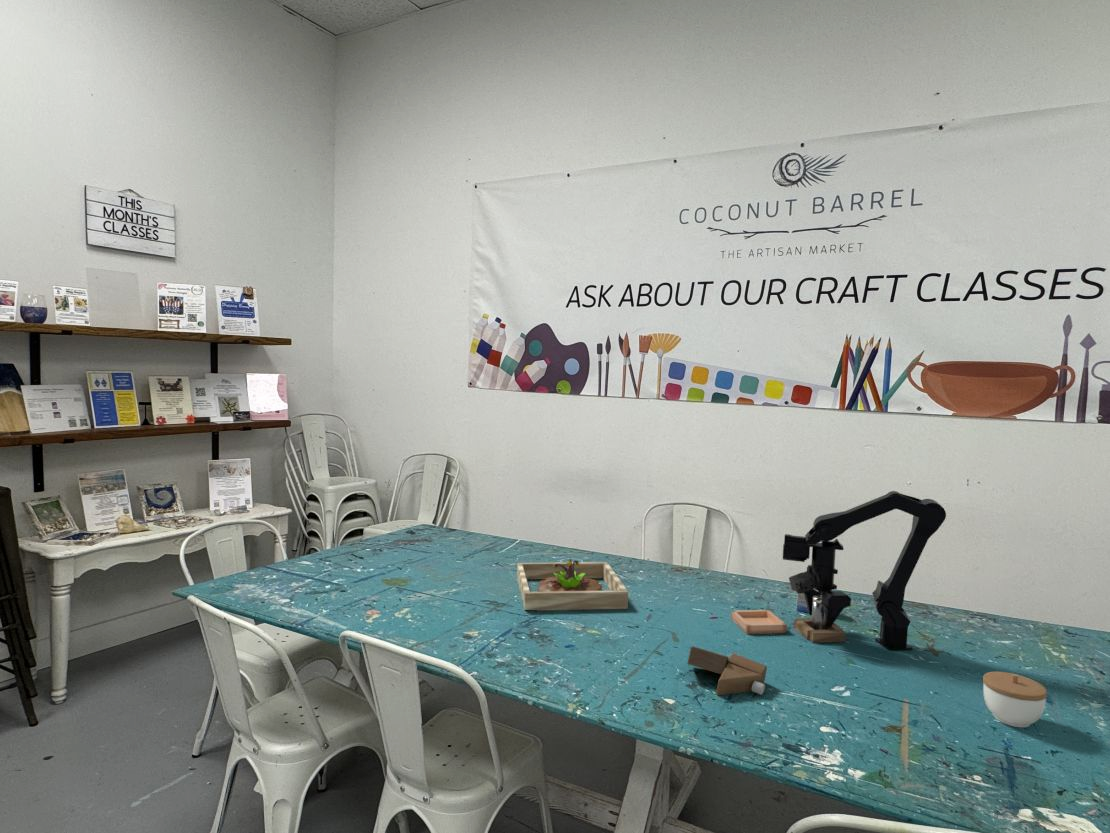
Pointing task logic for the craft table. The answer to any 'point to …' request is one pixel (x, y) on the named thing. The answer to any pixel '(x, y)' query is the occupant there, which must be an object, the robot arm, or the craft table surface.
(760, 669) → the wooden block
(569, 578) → the plant
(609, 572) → the birch planter frame
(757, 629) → the terracotta tray
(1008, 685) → the lidded jar
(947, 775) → the craft table surface
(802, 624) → the brown wooden square frame
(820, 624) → the silver metal cylinder
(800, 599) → the medicine box
